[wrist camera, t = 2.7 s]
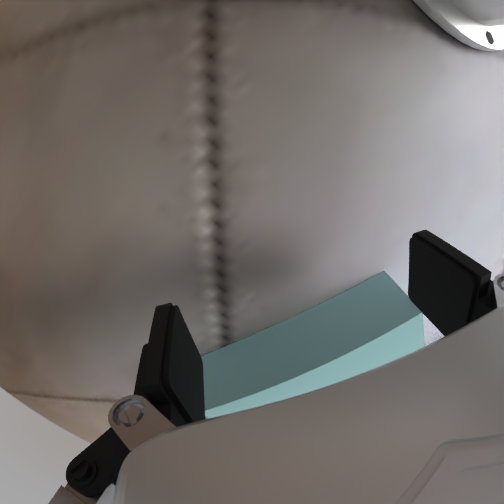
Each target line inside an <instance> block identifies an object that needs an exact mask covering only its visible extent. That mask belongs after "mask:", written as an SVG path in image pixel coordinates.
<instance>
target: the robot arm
mask: <svg viewBox="0 0 504 504" xmlns="http://www.w3.org/2000/svg"><path fill="white" fill-rule="evenodd" d="M413 1H414V2H415V3H416V4H417V5H418V6H419V7H420V8H421V9H422V10H423V11H424V12H425V13H426V14H427V15H428V16H429V17H430V18H431V19H432V20H433V21H434V22H435V23H437V24H438V25H439V26H440V27H441V28H442V29H444V30H445V31H446V32H447V33H449V34H450V35H452V36H453V37H455V38H456V39H458V40H459V41H460V42H462V43H464V44H466V45H468V46H470V47H472V48H475V49H479V50H483V51H503V50H504V0H413ZM490 278H491V272H490V271H489V270H487V269H486V268H485V267H483V266H482V265H480V264H479V263H477V262H476V261H474V260H473V259H471V258H470V257H468V256H467V255H465V254H464V253H462V252H461V251H459V250H458V249H456V248H455V247H453V246H452V245H450V244H448V243H447V242H445V241H444V240H442V239H440V238H439V237H437V236H436V235H434V234H432V233H431V232H429V231H427V230H422V231H419V232H416V233H414V234H413V235H412V238H411V239H410V242H409V285H408V296H409V299H410V300H411V302H412V303H413V304H414V305H415V306H416V307H417V308H418V309H419V310H420V311H421V312H422V313H423V314H424V315H425V316H426V317H427V318H428V319H429V320H430V321H431V322H432V323H433V324H434V325H435V326H436V327H437V328H438V330H439V331H440V332H441V333H442V334H443V335H444V336H445V337H443V338H441V339H439V340H437V341H435V342H433V343H431V344H429V345H427V346H424V347H422V348H420V349H418V350H416V351H414V352H412V353H409V354H407V355H405V356H403V357H400V358H398V359H396V360H393V361H391V362H389V363H386V364H384V365H382V366H379V367H377V368H374V369H372V370H369V371H367V372H364V373H361V374H359V375H356V376H354V377H351V378H348V379H345V380H343V381H340V382H337V383H334V384H331V385H328V386H325V387H323V388H320V389H316V390H313V391H310V392H307V393H304V394H301V395H297V396H294V397H291V398H287V399H284V400H280V401H277V402H273V403H269V404H266V405H262V406H258V407H254V408H250V409H246V410H242V411H238V412H234V413H230V414H226V415H222V416H217V417H213V418H209V419H205V400H204V375H203V362H202V358H201V356H200V354H199V352H198V349H197V347H196V345H195V343H194V341H193V339H192V336H191V334H190V332H189V330H188V328H187V325H186V323H185V321H184V319H183V316H182V314H181V312H180V309H179V307H178V306H177V305H176V306H173V305H172V303H168V304H164V305H160V306H156V308H155V313H154V318H153V322H152V327H151V332H150V337H149V342H148V344H145V345H144V346H143V349H142V354H141V358H140V363H139V369H138V374H137V379H136V384H135V390H134V395H129V396H126V397H123V398H121V399H120V400H118V401H117V402H116V403H115V404H114V405H113V406H112V408H111V409H110V411H109V415H108V421H109V424H110V426H111V428H110V429H108V430H107V431H106V432H105V433H104V434H103V435H101V436H100V437H99V438H98V439H97V440H96V441H94V442H93V443H92V444H91V445H90V446H88V447H87V448H86V449H85V450H84V451H82V452H81V453H80V454H79V455H78V456H77V457H75V458H74V459H73V460H72V461H71V462H70V463H69V465H68V467H67V471H66V480H67V482H68V483H67V485H66V486H65V487H63V486H62V485H61V486H60V488H59V489H58V491H57V492H56V493H55V495H54V497H53V498H52V499H51V501H50V502H49V504H504V274H500V275H497V276H496V277H495V278H494V280H493V281H491V280H490Z"/></svg>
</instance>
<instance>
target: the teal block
mask: <svg viewBox="0 0 504 504" xmlns="http://www.w3.org/2000/svg"><path fill="white" fill-rule="evenodd" d="M424 346H425V340H424V327H423V315H422V312H421V311H420V310H419V309H418V308H417V307H416V306H415V305H414V304H413V303H412V302H411V300H410V299H409V297H408V296H407V295H406V294H405V293H404V291H403V290H402V289H401V288H400V287H399V286H398V285H397V284H396V283H395V282H394V281H393V280H392V278H391V277H390V276H389V275H388V274H387V273H386V272H385V271H383V272H381V273H379V274H377V275H375V276H373V277H372V278H370V279H368V280H366V281H364V282H362V283H360V284H358V285H356V286H354V287H352V288H350V289H348V290H347V291H345V292H343V293H341V294H339V295H337V296H335V297H333V298H331V299H329V300H327V301H325V302H323V303H320V304H318V305H316V306H314V307H312V308H310V309H308V310H306V311H304V312H302V313H300V314H297V315H295V316H293V317H291V318H289V319H287V320H285V321H282V322H280V323H278V324H276V325H274V326H271V327H269V328H267V329H265V330H262V331H260V332H258V333H256V334H253V335H251V336H249V337H246V338H244V339H242V340H239V341H237V342H235V343H232V344H230V345H227V346H225V347H223V348H220V349H218V350H215V351H213V352H210V353H208V354H205V355H203V356H201V358H202V362H203V375H204V400H205V417H207V418H208V419H209V418H213V417H217V416H222V415H226V414H230V413H234V412H238V411H242V410H246V409H250V408H254V407H258V406H262V405H266V404H269V403H273V402H277V401H280V400H284V399H287V398H291V397H294V396H297V395H301V394H304V393H307V392H310V391H313V390H316V389H320V388H323V387H325V386H328V385H331V384H334V383H337V382H340V381H343V380H345V379H348V378H351V377H354V376H356V375H359V374H361V373H364V372H367V371H369V370H372V369H374V368H377V367H379V366H382V365H384V364H386V363H389V362H391V361H393V360H396V359H398V358H400V357H403V356H405V355H407V354H409V353H412V352H414V351H416V350H418V349H420V348H422V347H424Z"/></svg>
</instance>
